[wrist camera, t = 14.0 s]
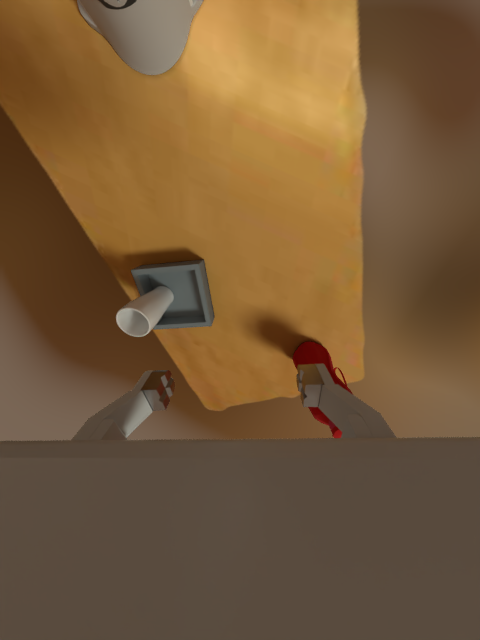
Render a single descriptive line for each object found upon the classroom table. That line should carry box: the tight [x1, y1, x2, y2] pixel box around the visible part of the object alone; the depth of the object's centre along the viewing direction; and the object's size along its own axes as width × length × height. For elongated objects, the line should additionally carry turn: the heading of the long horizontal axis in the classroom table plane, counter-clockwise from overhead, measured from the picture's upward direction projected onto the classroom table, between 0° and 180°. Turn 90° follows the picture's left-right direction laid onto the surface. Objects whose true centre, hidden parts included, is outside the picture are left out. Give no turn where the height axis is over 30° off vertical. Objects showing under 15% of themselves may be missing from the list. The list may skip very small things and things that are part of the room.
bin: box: [131, 260, 214, 329], centre depth 47 cm, size 16×16×5 cm
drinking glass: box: [116, 286, 174, 337], centre depth 42 cm, size 7×7×15 cm
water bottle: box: [293, 341, 352, 438], centre depth 45 cm, size 9×11×25 cm
